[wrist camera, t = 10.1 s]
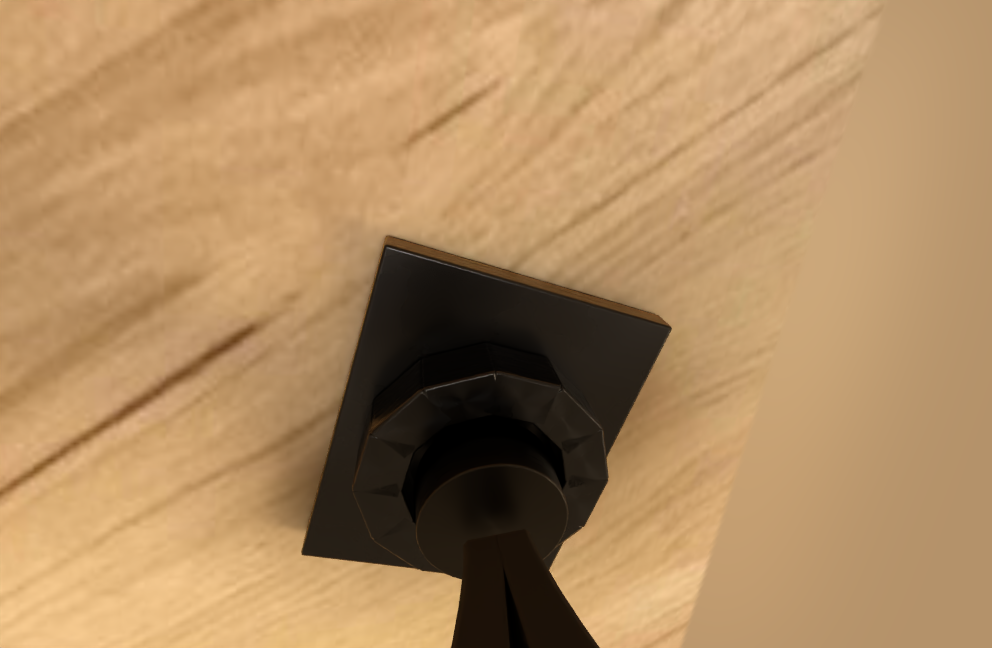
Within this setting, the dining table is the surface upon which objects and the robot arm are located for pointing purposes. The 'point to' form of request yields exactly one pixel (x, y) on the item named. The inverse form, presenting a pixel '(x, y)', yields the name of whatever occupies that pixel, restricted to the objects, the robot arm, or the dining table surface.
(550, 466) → the alarm button
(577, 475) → the block
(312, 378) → the dining table surface
